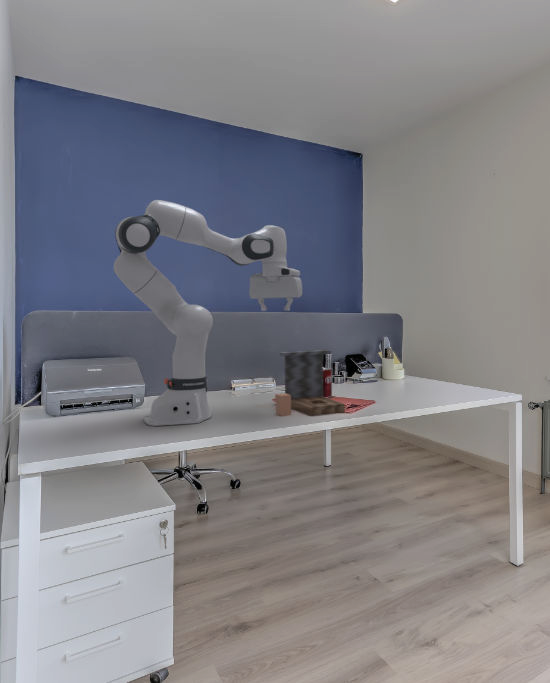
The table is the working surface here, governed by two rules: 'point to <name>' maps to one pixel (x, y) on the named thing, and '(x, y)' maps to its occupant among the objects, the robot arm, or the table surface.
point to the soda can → (327, 382)
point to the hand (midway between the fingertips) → (275, 310)
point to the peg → (283, 404)
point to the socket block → (308, 383)
